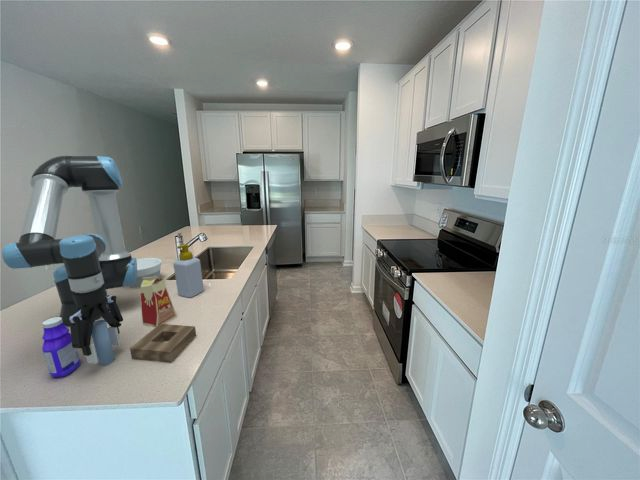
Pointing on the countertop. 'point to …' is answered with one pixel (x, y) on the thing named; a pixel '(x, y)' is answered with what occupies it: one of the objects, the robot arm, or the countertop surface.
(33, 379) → the countertop surface
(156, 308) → the milk carton
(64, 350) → the bottle
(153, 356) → the socket block
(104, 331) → the peg
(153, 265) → the bowl
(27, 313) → the countertop surface
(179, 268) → the soap bottle
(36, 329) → the countertop surface
